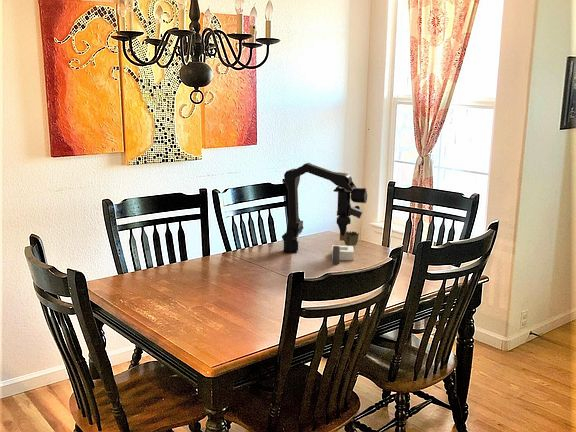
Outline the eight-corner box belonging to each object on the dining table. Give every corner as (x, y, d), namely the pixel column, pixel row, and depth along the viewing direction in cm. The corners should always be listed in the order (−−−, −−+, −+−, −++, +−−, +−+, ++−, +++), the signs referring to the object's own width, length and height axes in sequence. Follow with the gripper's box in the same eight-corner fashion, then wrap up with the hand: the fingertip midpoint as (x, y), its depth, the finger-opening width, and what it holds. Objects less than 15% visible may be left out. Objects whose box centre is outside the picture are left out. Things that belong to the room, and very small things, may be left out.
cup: (340, 247, 290) (340, 231, 289) (353, 245, 294) (353, 230, 292) (348, 251, 284) (348, 235, 282) (361, 249, 287) (361, 233, 285)
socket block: (331, 259, 271) (331, 251, 270) (332, 253, 281) (332, 245, 280) (353, 260, 270) (353, 251, 269) (353, 254, 280) (353, 245, 279)
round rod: (332, 264, 264) (332, 247, 262) (332, 262, 267) (333, 245, 265) (339, 264, 263) (339, 247, 262) (339, 262, 266) (339, 245, 265)
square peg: (339, 240, 272) (340, 223, 270) (339, 238, 275) (340, 222, 273) (346, 240, 272) (346, 223, 270) (346, 239, 275) (346, 222, 273)
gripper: (362, 206, 260) (361, 240, 263) (360, 197, 278) (359, 230, 281) (337, 205, 261) (336, 239, 264) (337, 197, 279) (336, 229, 282)
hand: (343, 234), depth 273 cm, fingers closed on square peg, 3 cm apart
